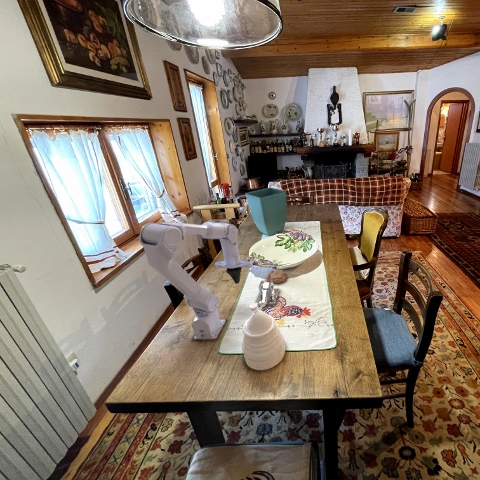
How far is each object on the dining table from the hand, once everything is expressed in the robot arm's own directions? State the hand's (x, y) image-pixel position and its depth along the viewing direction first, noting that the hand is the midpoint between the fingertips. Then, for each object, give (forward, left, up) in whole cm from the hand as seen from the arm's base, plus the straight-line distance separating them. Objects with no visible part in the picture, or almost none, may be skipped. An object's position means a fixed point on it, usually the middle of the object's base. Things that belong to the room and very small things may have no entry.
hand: (237, 282), depth 104 cm
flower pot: (+78, +5, -10) cm, 79 cm away
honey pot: (-27, -17, -10) cm, 33 cm away
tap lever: (-1, -11, -7) cm, 13 cm away
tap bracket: (+2, -11, -9) cm, 15 cm away
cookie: (+17, -12, -10) cm, 23 cm away
